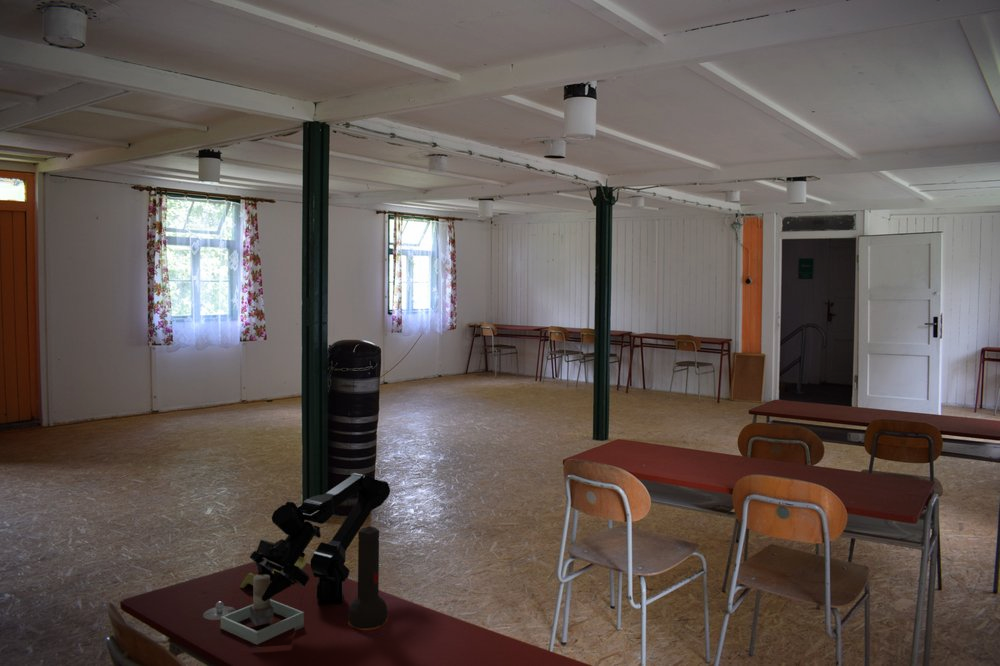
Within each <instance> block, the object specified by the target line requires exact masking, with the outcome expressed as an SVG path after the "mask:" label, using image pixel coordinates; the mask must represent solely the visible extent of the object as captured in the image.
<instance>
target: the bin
mask: <svg viewBox="0 0 1000 666" xmlns="http://www.w3.org/2000/svg"><path fill="white" fill-rule="evenodd" d="M251 605H253V603H252V604H250V605H247V606H245V607H243V608H240V609H237V610H236V611H235V612H232V613H229V614H227V615H224V616H222V617H221V619H220V629H221V630H224V631H226V632H228V633H231V634H232V635H235V636H237V637H239V638H241V639H243V640H245V641H248V642H250V643H252V644H255V645H256V646H253V648H255V649H259V648H261V647H262V646H261V645H260V646H257V645H259V644H261V643H263V642H267V640H270V639H273V638H275V637H276V636H278V635H281V634H284V633H285V632H287V631H290V630H292V629H294V630H293V632H296V631H298V630H300V629H302V628H304V627H305V611H302V610H300V609H297V608H294V607H291V606H290V605H286V604H284V603H281V602H278V601H276V600H274V599H271V598H270V605H271V606H272V607H273V614H276V615H279V616H282V617H284V618H285V619H282V620H279V621H278V622H276V623H273V624H271V625H268V626H266V627H264V628H261V629H259V630H255V629H253V628H250V627H248V626H247V625H244V624H242V623H240V622H242V621H244V620H247V619H250V606H251Z"/></svg>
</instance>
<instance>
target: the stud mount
mask: <svg viewBox="0 0 1000 666" xmlns="http://www.w3.org/2000/svg"><path fill="white" fill-rule="evenodd" d="M235 611H237V610H236V608H234V607H233V606H226V605H224V602H223V601H221V600H220V601H217V602H216V603H215V607H211V608H209V609H207V610H205V611H204V612H203V614H202V617H203V618H205V619H206V620H210V621H219V620H220V621H221V617H222V616H224V615H227V614H229V613H232V612H235Z"/></svg>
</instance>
